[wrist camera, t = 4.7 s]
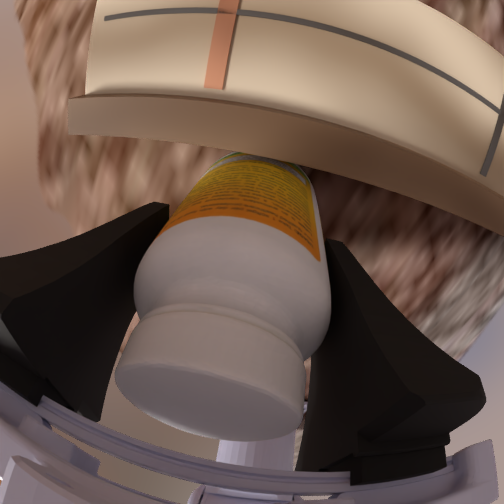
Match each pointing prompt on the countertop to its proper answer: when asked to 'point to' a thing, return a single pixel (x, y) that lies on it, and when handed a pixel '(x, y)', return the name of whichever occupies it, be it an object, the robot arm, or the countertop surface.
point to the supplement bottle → (231, 304)
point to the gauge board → (309, 90)
